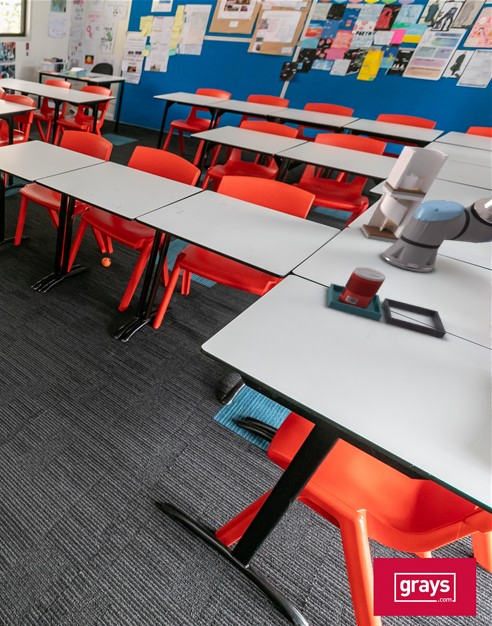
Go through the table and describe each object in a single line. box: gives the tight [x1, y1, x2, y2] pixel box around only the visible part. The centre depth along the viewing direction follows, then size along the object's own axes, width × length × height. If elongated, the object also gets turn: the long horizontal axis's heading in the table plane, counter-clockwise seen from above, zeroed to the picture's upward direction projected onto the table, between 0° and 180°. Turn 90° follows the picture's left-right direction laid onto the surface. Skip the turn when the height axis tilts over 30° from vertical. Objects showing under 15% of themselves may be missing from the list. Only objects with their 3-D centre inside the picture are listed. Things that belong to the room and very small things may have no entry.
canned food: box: [339, 266, 387, 309], centre depth 130 cm, size 8×8×11 cm
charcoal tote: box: [381, 297, 447, 339], centre depth 126 cm, size 13×13×2 cm
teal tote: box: [327, 283, 384, 322], centre depth 132 cm, size 13×13×2 cm
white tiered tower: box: [360, 145, 449, 243], centre depth 171 cm, size 11×11×35 cm
